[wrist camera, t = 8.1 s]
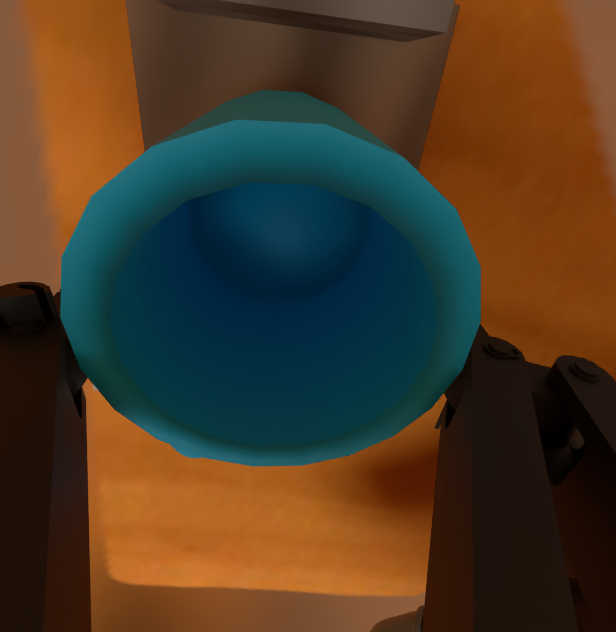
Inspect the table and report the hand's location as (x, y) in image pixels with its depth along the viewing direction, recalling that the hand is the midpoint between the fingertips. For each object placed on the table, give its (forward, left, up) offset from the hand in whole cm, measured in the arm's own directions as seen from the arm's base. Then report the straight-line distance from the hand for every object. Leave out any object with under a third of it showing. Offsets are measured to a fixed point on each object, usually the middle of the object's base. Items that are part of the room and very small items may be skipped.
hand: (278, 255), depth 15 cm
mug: (+1, 0, 0) cm, 1 cm away
